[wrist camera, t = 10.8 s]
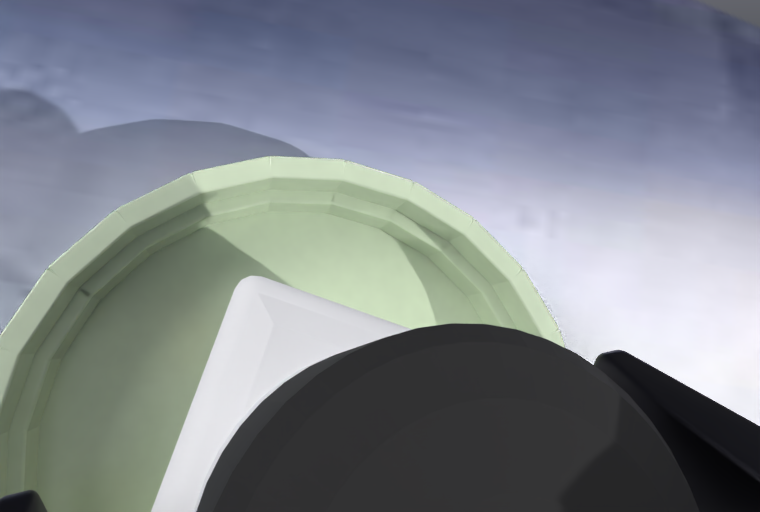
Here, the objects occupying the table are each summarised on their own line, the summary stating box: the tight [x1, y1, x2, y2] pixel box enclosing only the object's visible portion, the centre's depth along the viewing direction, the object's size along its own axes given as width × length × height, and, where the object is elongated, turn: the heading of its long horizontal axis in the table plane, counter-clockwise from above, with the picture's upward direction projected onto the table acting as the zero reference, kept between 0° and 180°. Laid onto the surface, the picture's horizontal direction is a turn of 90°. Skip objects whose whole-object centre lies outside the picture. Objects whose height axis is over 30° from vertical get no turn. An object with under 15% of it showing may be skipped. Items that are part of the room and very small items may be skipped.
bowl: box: [0, 156, 565, 512], centre depth 16 cm, size 15×15×3 cm
